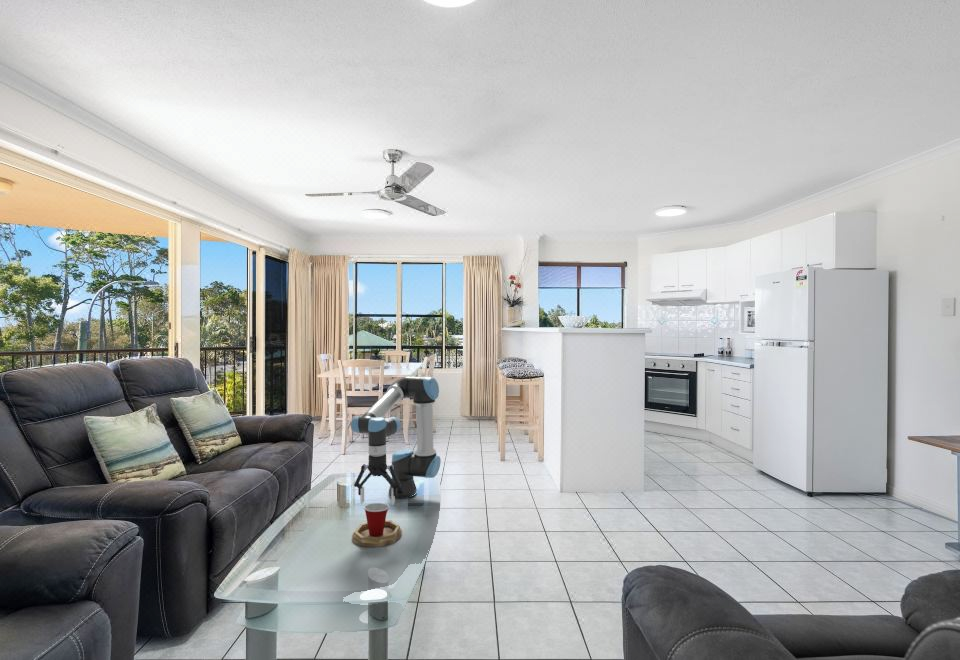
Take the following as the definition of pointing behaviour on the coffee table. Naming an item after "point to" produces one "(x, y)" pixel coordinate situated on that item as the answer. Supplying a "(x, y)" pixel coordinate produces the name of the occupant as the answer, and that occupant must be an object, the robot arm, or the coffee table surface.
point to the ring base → (388, 537)
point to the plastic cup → (376, 518)
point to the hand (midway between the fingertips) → (377, 502)
